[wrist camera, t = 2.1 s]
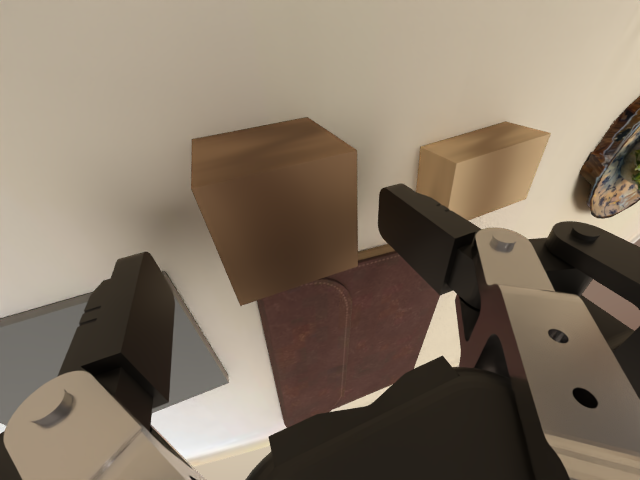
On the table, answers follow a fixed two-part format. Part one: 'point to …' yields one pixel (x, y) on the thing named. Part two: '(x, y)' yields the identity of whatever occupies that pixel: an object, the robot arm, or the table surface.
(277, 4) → the table surface
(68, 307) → the coaster
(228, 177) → the walnut block
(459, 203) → the oak block
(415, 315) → the notebook
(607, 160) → the burger
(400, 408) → the robot arm
